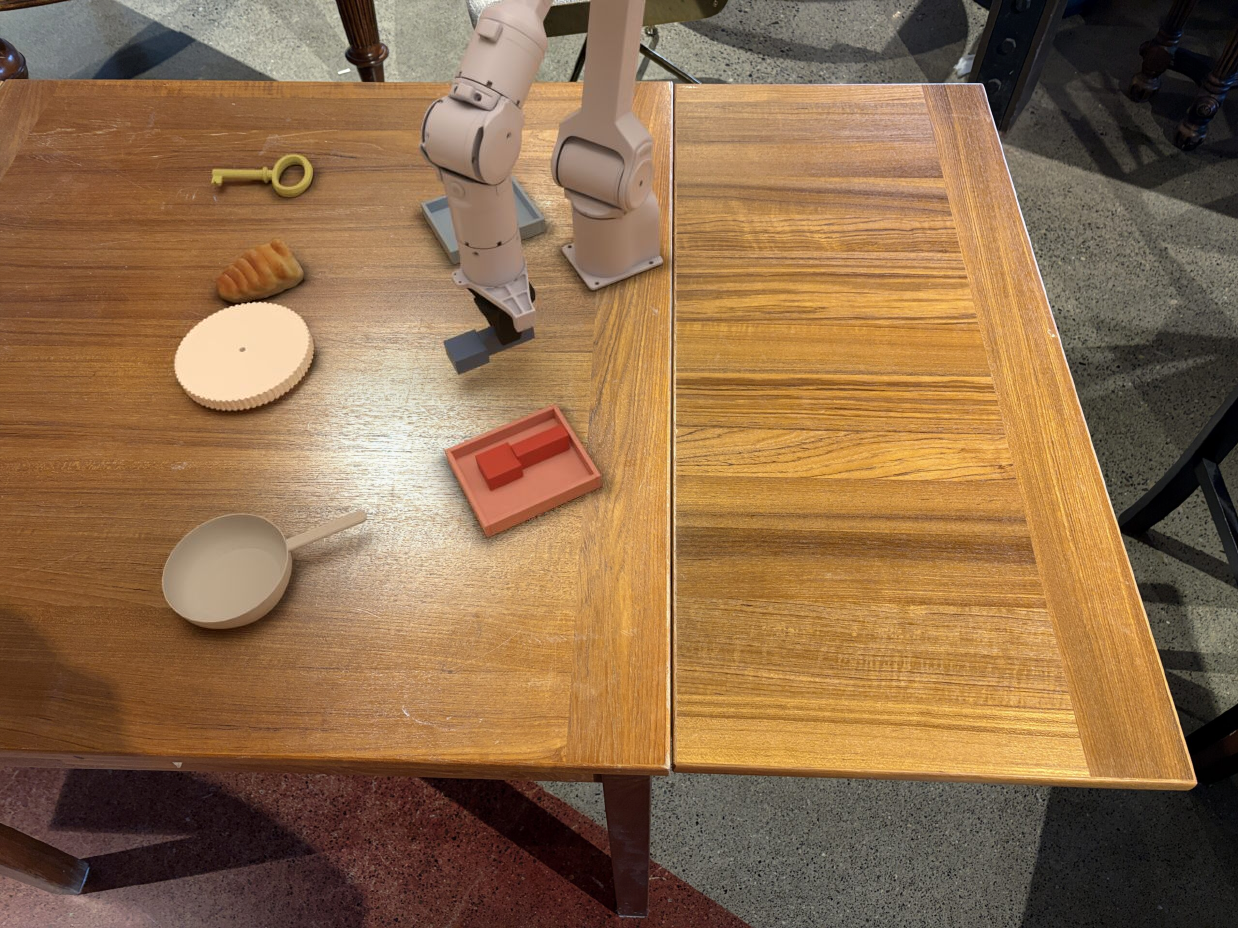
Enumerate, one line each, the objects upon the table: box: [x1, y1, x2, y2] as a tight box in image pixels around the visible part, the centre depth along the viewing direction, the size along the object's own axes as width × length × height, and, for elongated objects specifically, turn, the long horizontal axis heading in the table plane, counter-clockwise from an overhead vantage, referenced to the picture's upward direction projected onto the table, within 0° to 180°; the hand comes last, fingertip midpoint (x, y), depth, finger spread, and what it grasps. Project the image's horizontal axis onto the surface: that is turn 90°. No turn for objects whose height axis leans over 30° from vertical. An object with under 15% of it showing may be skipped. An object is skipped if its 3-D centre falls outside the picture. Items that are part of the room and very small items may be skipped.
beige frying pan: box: [161, 509, 368, 630], centre depth 80 cm, size 11×18×4 cm, turn 114°
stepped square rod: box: [442, 325, 536, 376], centre depth 90 cm, size 9×3×2 cm, turn 118°
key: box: [210, 153, 314, 198], centre depth 113 cm, size 7×12×2 cm, turn 113°
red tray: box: [444, 403, 603, 539], centre depth 86 cm, size 12×10×2 cm
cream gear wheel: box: [173, 301, 315, 412], centre depth 95 cm, size 14×14×2 cm
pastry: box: [216, 238, 305, 304], centre depth 102 cm, size 9×7×4 cm
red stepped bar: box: [475, 424, 570, 491], centre depth 87 cm, size 9×3×2 cm, turn 118°
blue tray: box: [419, 173, 547, 265], centre depth 108 cm, size 12×10×2 cm
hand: (506, 333), depth 91 cm, fingers closed on stepped square rod, 1 cm apart
